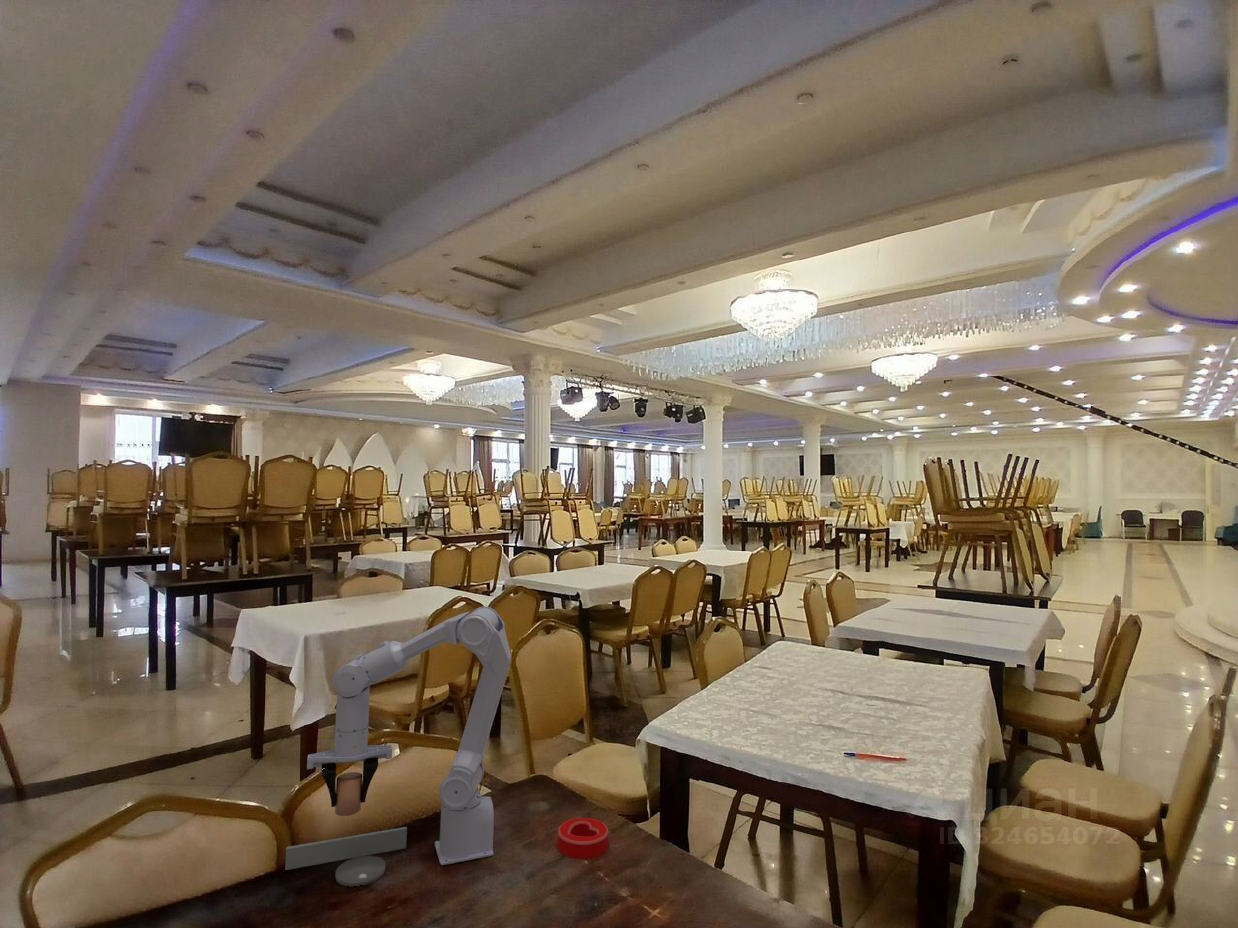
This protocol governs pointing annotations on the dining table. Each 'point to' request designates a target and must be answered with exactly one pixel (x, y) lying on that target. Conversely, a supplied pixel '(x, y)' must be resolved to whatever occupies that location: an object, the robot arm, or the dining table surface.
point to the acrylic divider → (345, 848)
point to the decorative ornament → (582, 838)
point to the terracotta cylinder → (348, 793)
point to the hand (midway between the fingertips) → (348, 802)
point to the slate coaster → (360, 871)
